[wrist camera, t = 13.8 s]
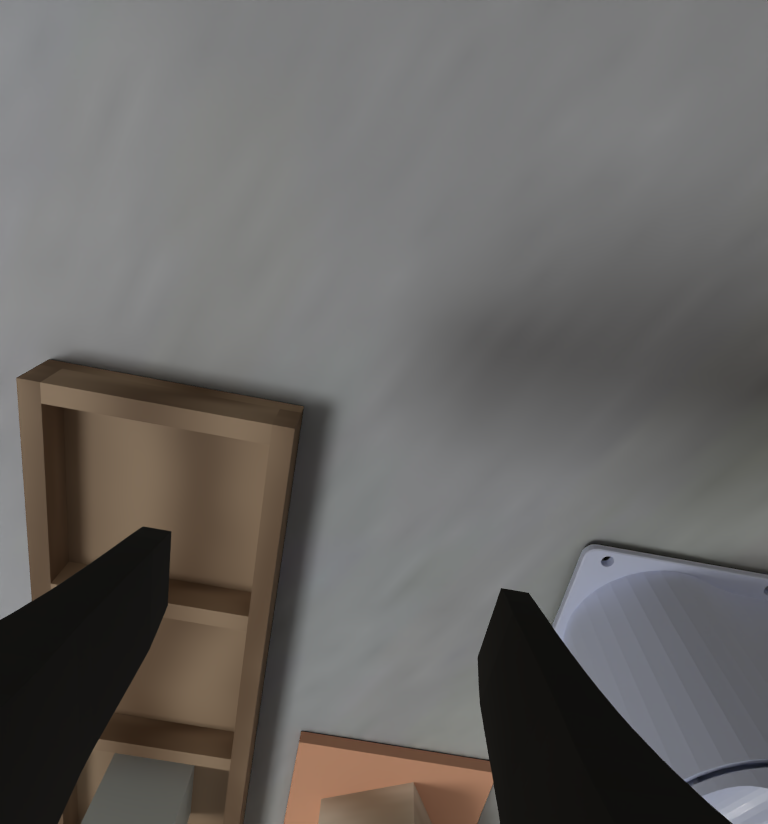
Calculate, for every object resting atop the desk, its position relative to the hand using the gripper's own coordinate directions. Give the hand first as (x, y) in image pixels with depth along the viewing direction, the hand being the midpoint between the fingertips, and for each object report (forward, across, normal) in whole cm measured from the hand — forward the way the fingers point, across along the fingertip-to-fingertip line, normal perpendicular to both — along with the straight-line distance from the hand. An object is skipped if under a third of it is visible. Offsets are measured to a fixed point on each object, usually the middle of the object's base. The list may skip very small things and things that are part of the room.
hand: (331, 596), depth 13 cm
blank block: (+10, +7, +23) cm, 26 cm away
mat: (+10, -5, +23) cm, 26 cm away
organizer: (+10, +7, +14) cm, 19 cm away
